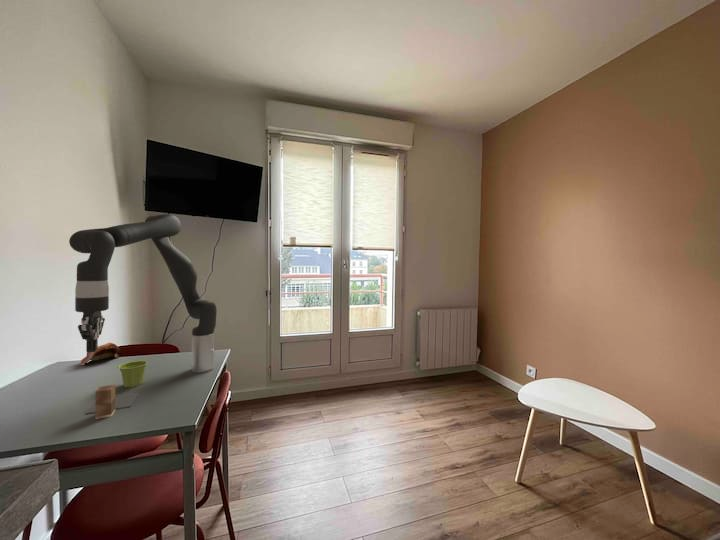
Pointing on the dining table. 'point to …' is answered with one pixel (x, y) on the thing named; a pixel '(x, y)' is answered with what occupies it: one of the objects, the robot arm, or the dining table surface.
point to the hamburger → (102, 353)
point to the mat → (119, 402)
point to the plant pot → (133, 373)
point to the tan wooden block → (105, 401)
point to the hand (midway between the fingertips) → (92, 351)
